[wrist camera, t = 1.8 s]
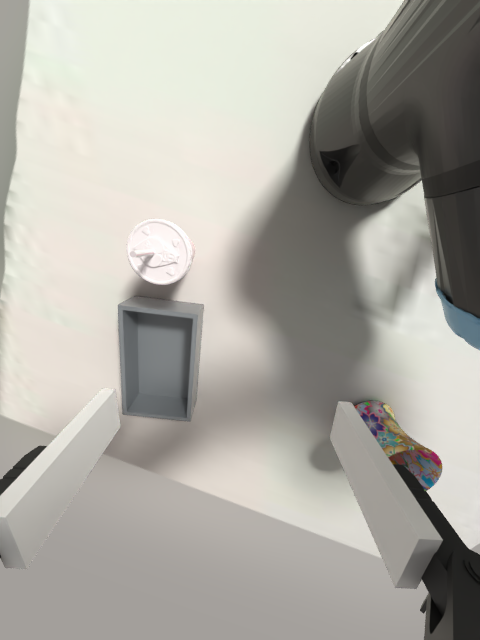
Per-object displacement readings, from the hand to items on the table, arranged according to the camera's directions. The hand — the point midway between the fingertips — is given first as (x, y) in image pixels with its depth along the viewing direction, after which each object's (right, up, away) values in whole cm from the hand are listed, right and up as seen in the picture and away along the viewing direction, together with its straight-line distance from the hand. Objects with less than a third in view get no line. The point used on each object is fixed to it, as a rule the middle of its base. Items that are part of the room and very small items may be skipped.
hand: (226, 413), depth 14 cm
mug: (+24, -12, +28) cm, 39 cm away
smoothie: (-7, +15, +18) cm, 25 cm away
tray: (-11, 0, +23) cm, 26 cm away
